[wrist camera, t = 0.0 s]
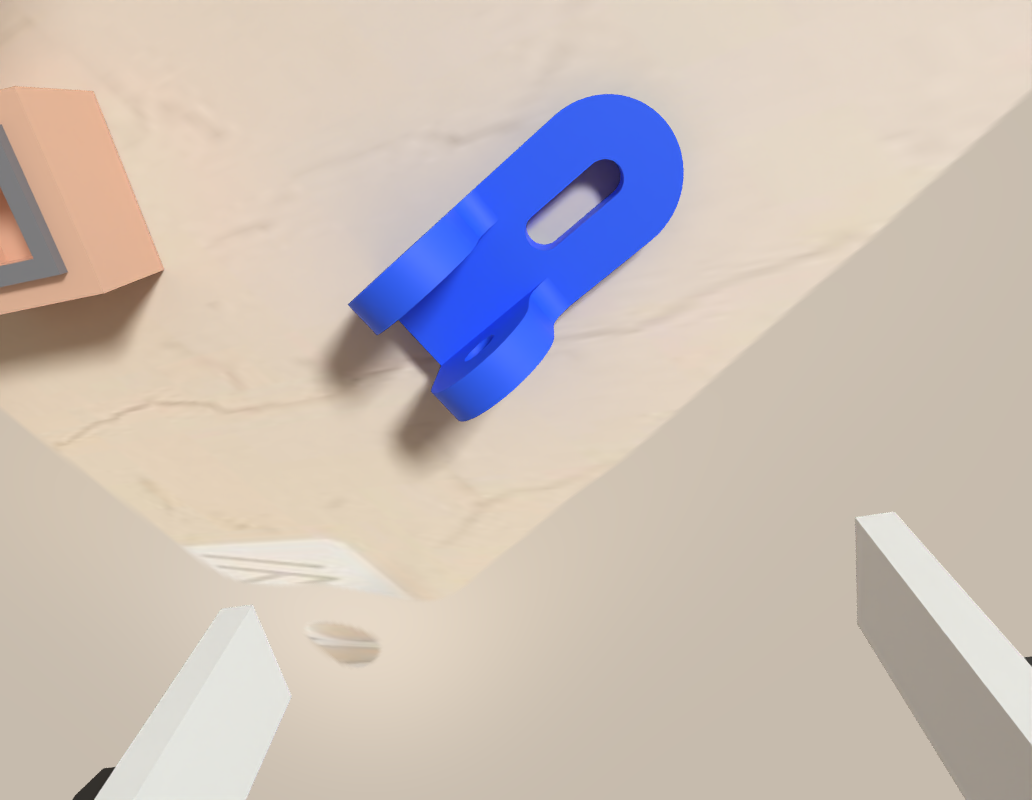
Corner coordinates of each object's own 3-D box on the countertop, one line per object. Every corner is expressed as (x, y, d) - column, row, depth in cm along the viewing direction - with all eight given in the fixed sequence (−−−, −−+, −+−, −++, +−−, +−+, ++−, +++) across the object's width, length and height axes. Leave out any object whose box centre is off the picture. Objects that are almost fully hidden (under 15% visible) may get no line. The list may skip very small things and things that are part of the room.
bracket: (468, 378, 43) (449, 440, 35) (375, 278, 41) (331, 319, 33) (706, 185, 38) (750, 204, 30) (615, 60, 36) (635, 42, 28)
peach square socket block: (-68, 130, 39) (-184, 132, 32) (93, 91, 37) (4, 85, 31) (15, 300, 42) (-75, 331, 36) (163, 269, 41) (97, 295, 35)
